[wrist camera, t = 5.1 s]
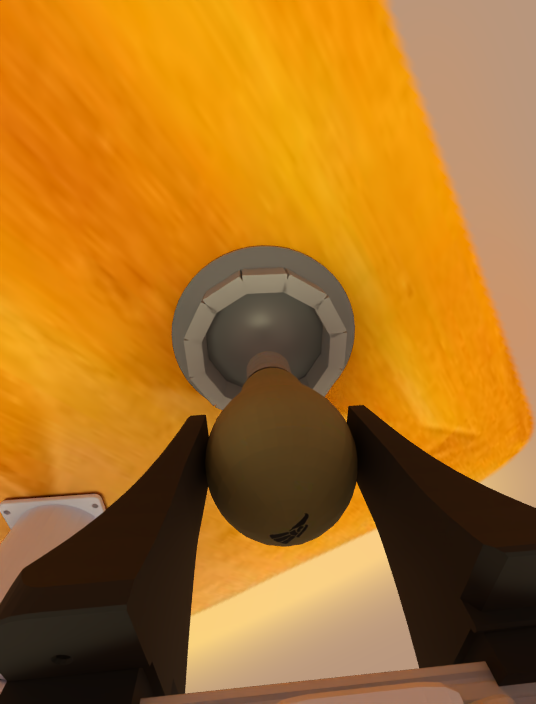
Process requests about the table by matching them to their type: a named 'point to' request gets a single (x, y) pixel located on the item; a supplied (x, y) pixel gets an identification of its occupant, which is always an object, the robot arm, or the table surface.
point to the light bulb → (280, 457)
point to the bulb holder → (261, 321)
